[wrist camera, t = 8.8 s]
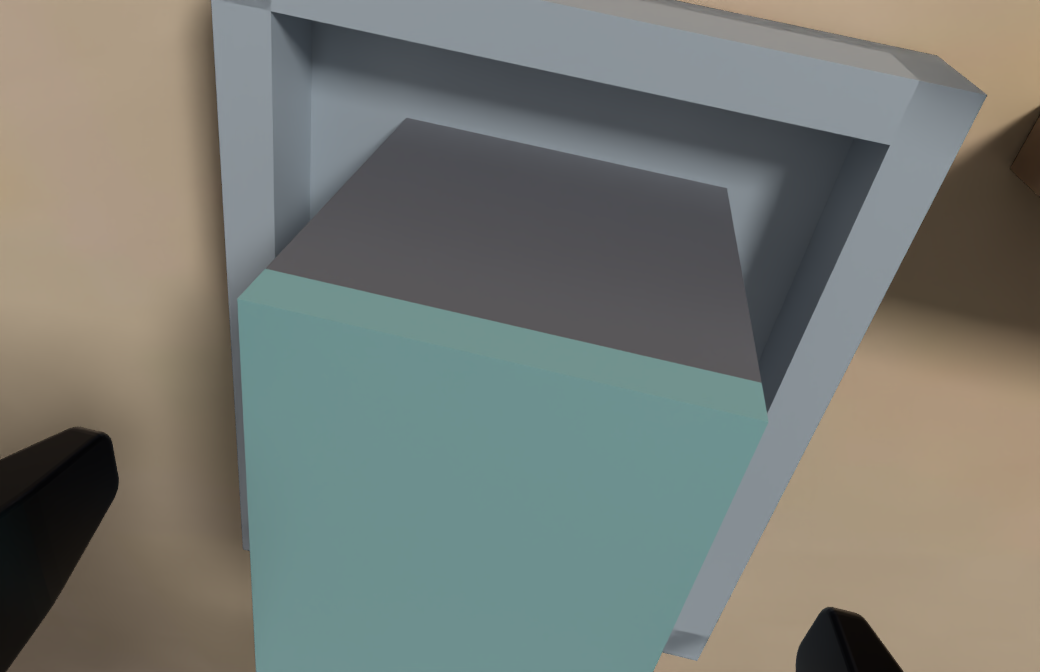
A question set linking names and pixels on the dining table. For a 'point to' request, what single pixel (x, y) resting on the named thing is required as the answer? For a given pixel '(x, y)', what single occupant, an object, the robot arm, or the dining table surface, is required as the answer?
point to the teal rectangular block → (492, 412)
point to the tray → (621, 140)
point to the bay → (1029, 160)
